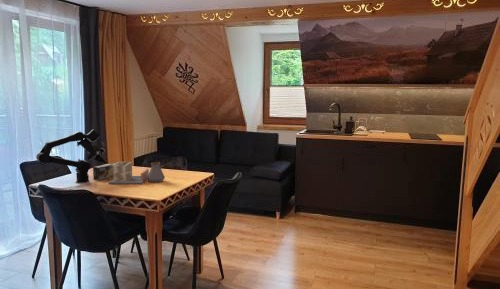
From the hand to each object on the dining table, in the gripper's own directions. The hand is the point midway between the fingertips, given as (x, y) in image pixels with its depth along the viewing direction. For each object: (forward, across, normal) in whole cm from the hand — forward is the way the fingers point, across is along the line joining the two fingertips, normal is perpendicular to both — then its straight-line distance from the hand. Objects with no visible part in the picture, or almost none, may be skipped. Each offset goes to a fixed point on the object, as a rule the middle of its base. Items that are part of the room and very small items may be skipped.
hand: (105, 162), depth 253 cm
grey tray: (+20, 0, -2) cm, 20 cm away
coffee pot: (+36, -4, -18) cm, 40 cm away
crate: (+16, 0, 0) cm, 16 cm away
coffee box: (+6, +17, +5) cm, 19 cm away
